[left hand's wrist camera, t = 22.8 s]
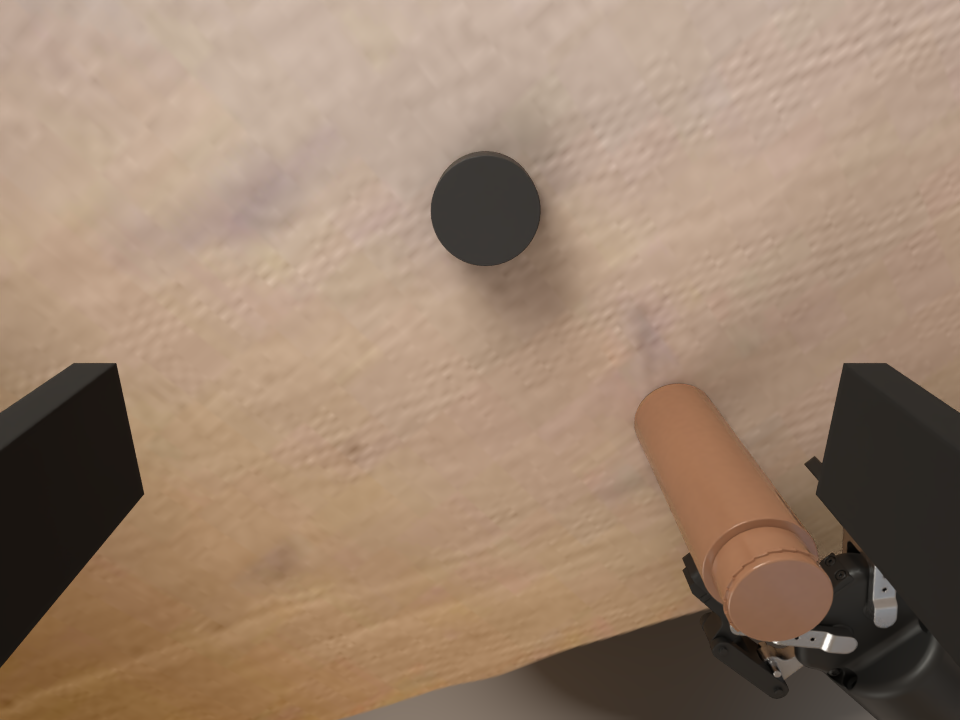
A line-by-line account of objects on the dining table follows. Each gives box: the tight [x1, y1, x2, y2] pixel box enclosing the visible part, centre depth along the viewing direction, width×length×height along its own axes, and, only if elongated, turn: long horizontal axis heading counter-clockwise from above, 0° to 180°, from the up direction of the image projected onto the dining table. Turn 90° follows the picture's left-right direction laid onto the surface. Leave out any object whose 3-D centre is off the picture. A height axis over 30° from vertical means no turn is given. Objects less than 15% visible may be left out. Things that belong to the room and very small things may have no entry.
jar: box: [634, 384, 833, 642], centre depth 34 cm, size 5×5×16 cm
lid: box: [431, 151, 540, 266], centre depth 36 cm, size 6×6×2 cm
